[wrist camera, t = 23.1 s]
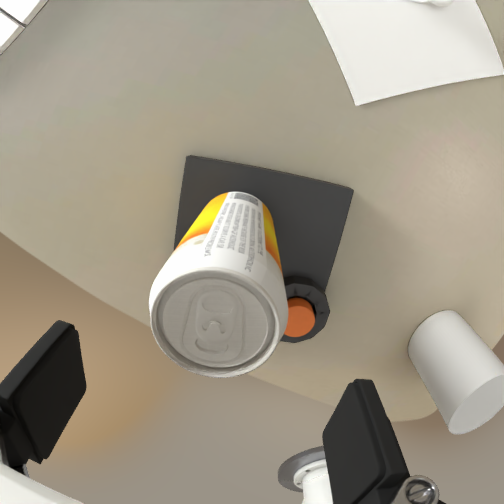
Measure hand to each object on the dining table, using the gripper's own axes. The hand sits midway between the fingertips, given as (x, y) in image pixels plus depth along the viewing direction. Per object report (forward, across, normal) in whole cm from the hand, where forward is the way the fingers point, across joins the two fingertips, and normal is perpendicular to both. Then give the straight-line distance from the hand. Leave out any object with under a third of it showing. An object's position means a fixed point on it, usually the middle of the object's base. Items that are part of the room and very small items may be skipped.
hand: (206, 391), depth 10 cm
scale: (+20, -2, +1) cm, 20 cm away
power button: (+17, -6, +6) cm, 19 cm away
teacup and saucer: (+19, -11, -27) cm, 35 cm away
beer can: (+18, 0, -1) cm, 18 cm away
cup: (+20, -25, +8) cm, 33 cm away
